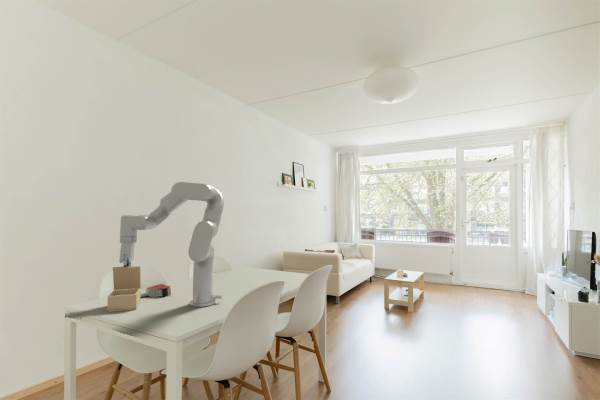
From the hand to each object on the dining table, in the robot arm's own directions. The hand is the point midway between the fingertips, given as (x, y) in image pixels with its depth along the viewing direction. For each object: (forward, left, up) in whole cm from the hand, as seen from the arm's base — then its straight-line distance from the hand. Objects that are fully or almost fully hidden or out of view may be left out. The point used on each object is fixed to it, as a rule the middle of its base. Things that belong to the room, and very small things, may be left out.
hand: (126, 276), depth 161 cm
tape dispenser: (-11, -13, -14) cm, 23 cm away
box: (0, +6, -14) cm, 15 cm away
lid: (0, +2, -1) cm, 2 cm away
